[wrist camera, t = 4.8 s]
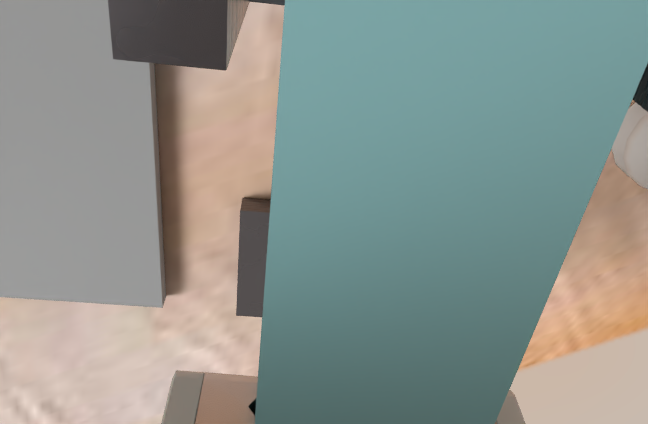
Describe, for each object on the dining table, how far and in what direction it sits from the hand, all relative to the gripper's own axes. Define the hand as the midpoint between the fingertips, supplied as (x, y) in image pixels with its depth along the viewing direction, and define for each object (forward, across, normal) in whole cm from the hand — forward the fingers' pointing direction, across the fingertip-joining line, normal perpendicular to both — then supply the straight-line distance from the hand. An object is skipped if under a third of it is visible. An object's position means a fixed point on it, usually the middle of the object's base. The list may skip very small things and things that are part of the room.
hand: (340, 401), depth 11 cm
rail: (+1, 0, 0) cm, 1 cm away
